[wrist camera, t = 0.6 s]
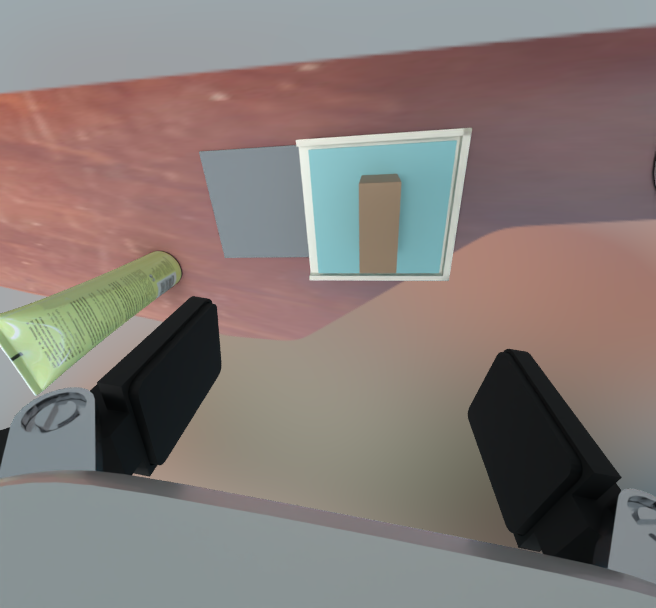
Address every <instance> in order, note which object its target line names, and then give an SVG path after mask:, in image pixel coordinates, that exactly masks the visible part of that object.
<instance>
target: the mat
mask: <svg viewBox="0 0 656 608" xmlns="http://www.w3.org/2000/svg"><path fill="white" fill-rule="evenodd" d="M199 154H200V158H201V162H202V166H203V170H204V174H205V178H206V182H207V186H208V190H209V195H210V199H211V203H212V207H213V211H214V215H215V219H216V223H217V227H218V231H219V235H220V240H221V244H222V248H223V252H224V256H225V258H248V257H309V249H308V239H307V228H306V218H305V208H304V197H303V187H302V177H301V166H300V156H299V147H296V145H292V146H277V147H262V148H247V149H231V150H216V151H201V152H199Z"/></svg>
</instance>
